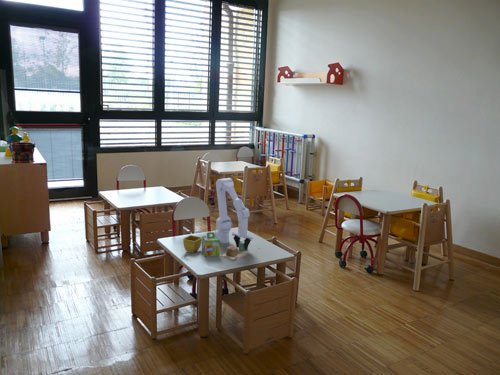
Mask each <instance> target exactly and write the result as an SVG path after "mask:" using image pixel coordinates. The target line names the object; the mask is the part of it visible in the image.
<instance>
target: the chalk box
mask: <svg viewBox="0 0 500 375" xmlns="http://www.w3.org/2000/svg"><path fill="white" fill-rule="evenodd" d="M201 238H202V241H201V253H202V255H203V256H204V257H206V258H207V257H209V258H210V257H217V256H218V255H219V254H220V250H221V249H220V245H221V243H220V240H219V239H218V237H216V236H215V231H214V232H213V231H212V232H207V234H206V235H203V236H202V237H201Z"/></svg>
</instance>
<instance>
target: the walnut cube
mask: <svg viewBox="0 0 500 375" xmlns="http://www.w3.org/2000/svg"><path fill="white" fill-rule="evenodd" d="M238 248H239V247H235V245H234V246H233V245H229V246H228V247H226V248H225V249H226V250H225V251H226V255H227V256H230V257H235V256H237V254H238Z"/></svg>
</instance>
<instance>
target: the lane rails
mask: <svg viewBox="0 0 500 375" xmlns="http://www.w3.org/2000/svg"><path fill="white" fill-rule="evenodd" d="M234 247H236V245H234ZM257 250H260V248H259V247H256V248H254V249H252V250H251V251H249V252H248V253H246V254H244V255H242V256H240V257H239V258H237V259H235V261H236V262H237V261H239V260H240V259H243V258H244V257H245V256H248V255H250V254H251V253H253V252H255V251H257ZM225 253H226V250H224V251H223V252H221V253H219V255H218V256H220V257H221V254H225Z"/></svg>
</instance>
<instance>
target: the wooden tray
mask: <svg viewBox="0 0 500 375" xmlns="http://www.w3.org/2000/svg"><path fill="white" fill-rule="evenodd" d="M248 249H249V248H248ZM248 249H247V250H245V242H244V240H240V242H239V247H238V254H237V256H235V257H230V256H227V255H226V253H224V254H221V253H220V254H221V255H220V257H222V258H226V259H230V260H233V261H236V259H238V258H240V257H242V256H243V255H245V254H247V253H249V252H250V250H248Z"/></svg>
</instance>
